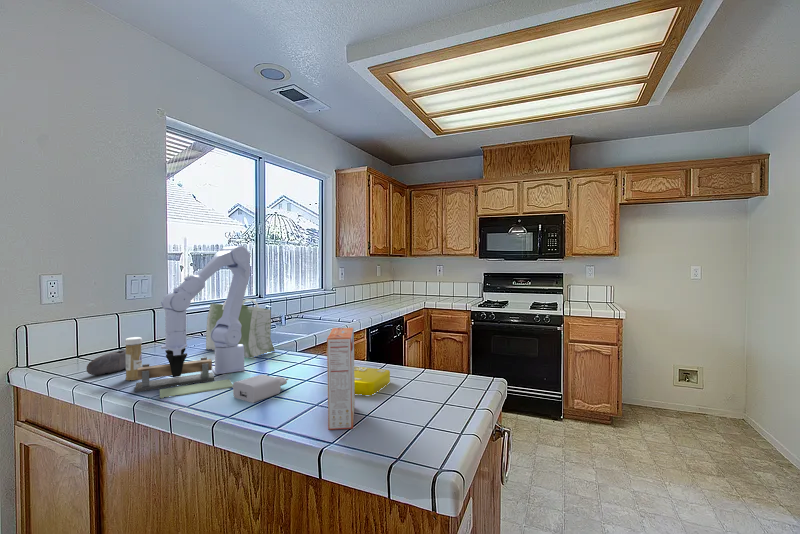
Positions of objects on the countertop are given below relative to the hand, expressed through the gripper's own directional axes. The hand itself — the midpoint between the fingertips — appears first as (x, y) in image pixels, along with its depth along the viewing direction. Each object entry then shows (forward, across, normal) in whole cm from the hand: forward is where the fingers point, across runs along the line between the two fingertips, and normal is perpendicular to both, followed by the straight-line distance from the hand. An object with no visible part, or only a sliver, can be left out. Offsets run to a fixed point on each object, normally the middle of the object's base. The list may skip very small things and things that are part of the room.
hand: (176, 373), depth 121 cm
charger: (+3, +25, +22) cm, 33 cm away
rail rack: (+3, 0, 0) cm, 3 cm away
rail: (0, 0, 0) cm, 0 cm away
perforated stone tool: (+3, -27, -18) cm, 33 cm away
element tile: (+4, +34, +47) cm, 59 cm away
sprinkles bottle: (+3, -13, -12) cm, 18 cm away
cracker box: (+3, +54, +32) cm, 63 cm away
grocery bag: (+3, -39, +26) cm, 47 cm away
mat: (+3, +10, +5) cm, 12 cm away
